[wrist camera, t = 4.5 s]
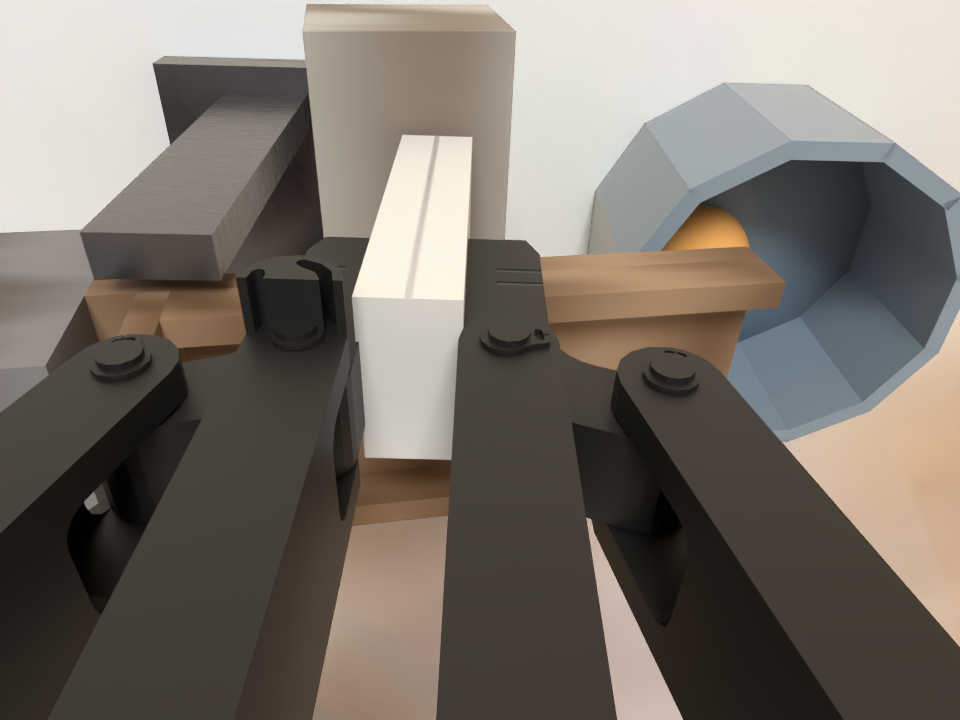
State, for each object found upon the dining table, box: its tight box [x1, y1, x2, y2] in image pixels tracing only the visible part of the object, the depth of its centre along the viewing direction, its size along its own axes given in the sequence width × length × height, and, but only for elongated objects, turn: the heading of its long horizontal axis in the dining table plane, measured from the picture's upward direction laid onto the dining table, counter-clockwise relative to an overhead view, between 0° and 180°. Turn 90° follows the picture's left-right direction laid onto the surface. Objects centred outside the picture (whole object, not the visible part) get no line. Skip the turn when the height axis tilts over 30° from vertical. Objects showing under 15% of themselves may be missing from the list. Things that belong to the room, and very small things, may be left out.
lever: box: [0, 4, 786, 526], centre depth 19 cm, size 25×14×7 cm, turn 88°
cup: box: [588, 83, 960, 442], centre depth 28 cm, size 12×12×7 cm
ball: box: [661, 205, 750, 251], centre depth 29 cm, size 4×4×4 cm
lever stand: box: [79, 56, 324, 281], centre depth 25 cm, size 8×13×14 cm, turn 178°
